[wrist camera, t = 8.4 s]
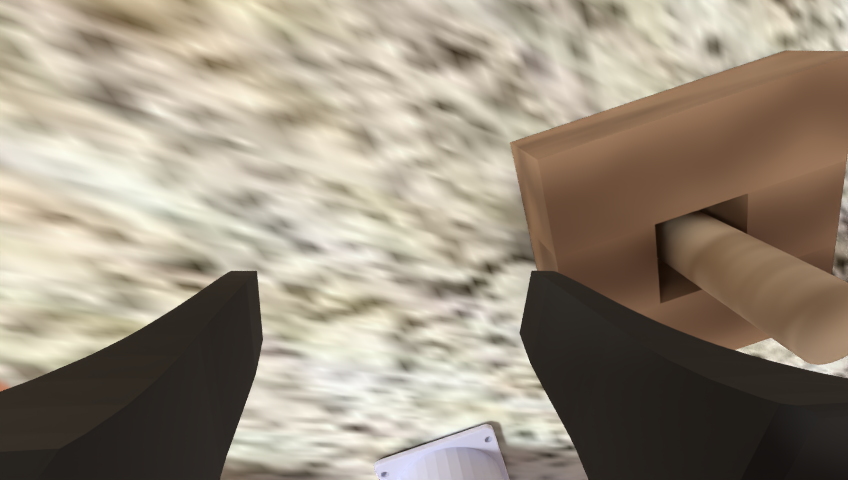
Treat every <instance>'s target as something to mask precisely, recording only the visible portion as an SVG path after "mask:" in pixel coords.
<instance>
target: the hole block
mask: <svg viewBox="0 0 848 480" xmlns="http://www.w3.org/2000/svg"><path fill="white" fill-rule="evenodd" d="M510 144H511V149H512V153H513V158H514V163H515V168H516V172H517V177H518V182H519V186H520V191H521V196H522V201H523V205H524V210H525V215H526V220H527V224H528V229H529V234H530V238H531V243H532V248H533V253H534V257H535V262H536V267H537V271H555V272H558V273H560V274H563V275H565V276H567V277H569V278H571V279H573V280H575V281H577V282H579V283H581V284H583V285H585V286H587V287H589V288H591V289H593V290H594V291H596V292H598V293H600V294H602V295H604V296H606V297H608V298H610V299H612V300H614V301H616V302H617V303H619V304H621V305H623V306H625V307H627V308H629V309H632V310H634V311H636V312H638V313H640V314H642V315H644V316H646V317H649V318H651V319H653V320H655V321H657V322H659V323H662V324H664V325H666V326H669V327H671V328H674V329H676V330H679V331H681V332H684V333H687V334H689V335H692V336H694V337H697V338H699V339H702V340H705V341H708V342H711V343H714V344H716V345H720V346H723V347H726V348H729V349H732V350H736V349H739V348H742V347H745V346H748V345H751V344H754V343H757V342H760V341H762V340H765V339H768V338H771V337H770V336H768V335H767V334H766V333H764V332H763V331H761V330H760V329H758V328H757V327H756V326H754V325H753V324H751V323H750V322H748V321H747V320H746V319H744V318H743V317H741V316H740V315H739V314H737V313H736V312H734V311H733V310H731V309H730V308H729V307H727V306H726V305H724V304H723V303H721V302H720V301H719V300H717V299H716V298H714V297H713V296H711V295H710V294H709V293H707V292H706V291H704V290H703V289H702V288H700V287H699V286H697V285H696V284H694V283H693V282H692V281H690V280H689V279H687V278H686V277H684V276H683V275H682V274H680V273H679V272H677V271H676V270H674V269H673V268H672V267H670V266H669V265H667V264H666V263H665V262H663V261H662V260H660V259H657V248H656V234H655V224H658V223H661V222H664V221H667V220H670V219H673V218H676V217H679V216H682V215H685V214H688V213H691V212H694V211H697V210H698V211H700V212H702V213H704V214H707V215H709V216H711V217H713V218H715V219H717V220H719V221H721V222H723V223H725V224H727V225H729V226H731V227H734V228H736V229H738V230H740V231H742V232H744V233H746V234H748V235H750V236H752V237H754V238H756V239H758V240H760V241H763V242H765V243H767V244H769V245H771V246H773V247H775V248H777V249H779V250H781V251H783V252H785V253H787V254H790V255H792V256H794V257H796V258H798V259H800V260H802V261H804V262H806V263H808V264H810V265H812V266H814V267H817V268H819V269H821V270H823V271H825V272H827V273H829V274H831V275H832V268H833V260H834V252H835V245H836V237H837V230H838V222H839V215H840V207H841V199H842V192H843V184H844V177H845V169H846V161H847V154H848V51H783V52H780V53H777V54H774V55H771V56H768V57H765V58H762V59H759V60H756V61H753V62H750V63H747V64H744V65H741V66H738V67H735V68H732V69H729V70H726V71H723V72H720V73H717V74H714V75H711V76H708V77H705V78H702V79H699V80H696V81H693V82H690V83H687V84H684V85H681V86H678V87H675V88H672V89H669V90H666V91H663V92H660V93H657V94H654V95H651V96H648V97H645V98H642V99H639V100H636V101H633V102H630V103H627V104H624V105H621V106H618V107H615V108H612V109H609V110H606V111H603V112H600V113H597V114H594V115H591V116H588V117H585V118H582V119H579V120H576V121H573V122H570V123H567V124H564V125H561V126H558V127H555V128H552V129H549V130H546V131H543V132H540V133H537V134H534V135H531V136H528V137H525V138H522V139H519V140H516V141H513V142H510Z"/></svg>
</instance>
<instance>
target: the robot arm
mask: <svg viewBox="0 0 848 480" xmlns="http://www.w3.org/2000/svg"><path fill="white" fill-rule="evenodd" d="M520 335H521V338H522V341H523V344H524V347H525V350H526V353H527V355H528V358H529V361H530V363H531V365H532V367H533V369H534V371H535V373H536V375H537V377H538V379H539V381H540V382H541V384H542V386H543V388H544V390H545V392H546V394H547V395H548V397H549V399H550V401H551V403H552V405H553V406H554V408H555V410H556V412H557V414H558V416H559V417H560V419H561V421H562V423H563V425H564V427H565V428H566V430H567V432H568V434H569V436H570V438H571V440H572V442H573V444H574V446H575V448H576V450H577V453H578V455H579V458H580V460H581V462H582V465H583V467H584V470H585V472H586V475H587V477H588V479H589V480H848V378H843V377H838V376H833V375H828V374H823V373H818V372H813V371H809V370H805V369H801V368H797V367H793V366H789V365H785V364H781V363H777V362H773V361H769V360H766V359H762V358H759V357H755V356H751V355H748V354H745V353H742V352H739V351H735V350H732V349H729V348H726V347H723V346H720V345H716V344H714V343H711V342H708V341H705V340H702V339H699V338H697V337H694V336H692V335H689V334H687V333H684V332H681V331H679V330H676V329H674V328H671V327H669V326H666V325H664V324H662V323H659V322H657V321H655V320H653V319H651V318H649V317H646V316H644V315H642V314H640V313H638V312H636V311H634V310H632V309H629V308H627V307H625V306H623V305H621V304H619V303H617V302H616V301H614V300H612V299H610V298H608V297H606V296H604V295H602V294H600V293H598V292H596V291H594V290H593V289H591V288H589V287H587V286H585V285H583V284H581V283H579V282H577V281H575V280H573V279H571V278H569V277H567V276H565V275H563V274H560V273H558V272H555V271H532V272H531V277H530V282H529V287H528V292H527V298H526V303H525V308H524V313H523V318H522V324H521V329H520ZM262 341H263V336H262V324H261V313H260V301H259V290H258V279H257V271H230V272H228V273H227V274H225V275H223V276H222V277H220V278H219V279H217V280H216V281H214V282H213V283H212V284H210V285H209V286H207V287H206V288H204V289H203V290H201V291H200V292H199V293H197V294H196V295H194V296H193V297H191V298H190V299H188V300H187V301H185V302H184V303H182V304H181V305H179V306H178V307H176V308H175V309H173V310H171V311H170V312H168V313H166V314H165V315H163V316H162V317H160V318H158V319H157V320H155V321H153V322H152V323H150V324H148V325H147V326H145V327H144V328H142V329H140V330H138V331H137V332H135V333H133V334H131V335H129V336H128V337H126V338H124V339H122V340H120V341H118V342H116V343H114V344H112V345H110V346H108V347H106V348H104V349H102V350H100V351H98V352H96V353H94V354H92V355H90V356H87V357H85V358H83V359H81V360H78V361H76V362H73V363H71V364H69V365H66V366H64V367H62V368H59V369H57V370H55V371H52V372H50V373H47V374H45V375H43V376H40V377H38V378H36V379H33V380H30V381H28V382H25V383H23V384H20V385H17V386H14V387H12V388H9V389H6V390H3V391H1V392H0V480H220V476H221V473H222V469H223V466H224V463H225V460H226V456H227V453H228V451H229V448H230V445H231V442H232V439H233V437H234V434H235V431H236V428H237V426H238V423H239V420H240V417H241V414H242V412H243V409H244V406H245V403H246V400H247V398H248V395H249V392H250V389H251V386H252V383H253V380H254V378H255V375H256V370H257V366H258V361H259V356H260V351H261V346H262ZM486 437H487V438H486ZM374 470H375V473H376V475H377V477H378V478H379V480H510V479H509V476H508V473H507V470H506V467H505V464H504V460H503V457H502V454H501V451H500V448H499V445H498V442H497V439H496V436H495V433H494V430H493V427H492V426H491V425H489V424H484V425H481V426H478V427H475V428H472V429H469V430H466V431H463V432H460V433H457V434H454V435H451V436H448V437H445V438H442V439H439V440H436V441H434V442H431V443H428V444H425V445H422V446H419V447H416V448H413V449H410V450H407V451H404V452H401V453H398V454H395V455H392V456H389V457H386V458H383V459H380V460H378V461H377V462H376V463H375V465H374Z"/></svg>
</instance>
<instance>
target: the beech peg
mask: <svg viewBox="0 0 848 480" xmlns="http://www.w3.org/2000/svg"><path fill="white" fill-rule="evenodd" d="M655 234H656V248H657V258H659V259H660V260H662V261H663V262H665V263H666V264H667V265H669V266H670V267H672V268H673V269H674V270H676V271H677V272H679V273H680V274H682V275H683V276H684V277H686V278H687V279H689V280H690V281H692V282H693V283H694V284H696V285H697V286H699V287H700V288H702V289H703V290H704V291H706V292H707V293H709V294H710V295H711V296H713V297H714V298H716V299H717V300H719V301H720V302H721V303H723V304H724V305H726V306H727V307H729V308H730V309H731V310H733V311H734V312H736V313H737V314H739V315H740V316H741V317H743V318H744V319H746V320H747V321H748V322H750V323H751V324H753V325H754V326H756V327H757V328H758V329H760V330H761V331H763V332H764V333H766V334H767V335H768V336H770V337H771V338H773V339H774V340H775V341H777V342H778V343H780V344H781V345H783V346H784V347H785V348H787V349H788V350H790V351H791V352H793V353H794V354H795V355H797V356H798V357H800V358H801V359H803V360H804V361H806V362H808V363H810V364H817V365H820V364H828V363H831V362H835V361H837V360H840V359H842V358H844V357H845V356H847V355H848V282H846V281H843V280H841V279H839V278H837V277H835V276H833V275H831V274H829V273H827V272H825V271H823V270H821V269H819V268H817V267H814V266H812V265H810V264H808V263H806V262H804V261H802V260H800V259H798V258H796V257H794V256H792V255H790V254H787V253H785V252H783V251H781V250H779V249H777V248H775V247H773V246H771V245H769V244H767V243H765V242H763V241H760V240H758V239H756V238H754V237H752V236H750V235H748V234H746V233H744V232H742V231H740V230H738V229H736V228H734V227H731V226H729V225H727V224H725V223H723V222H721V221H719V220H717V219H715V218H713V217H711V216H709V215H707V214H704V213H702V212H700V211H698V210H697V211H694V212H691V213H688V214H685V215H682V216H679V217H676V218H673V219H670V220H667V221H664V222H661V223H658V224H655Z"/></svg>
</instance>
